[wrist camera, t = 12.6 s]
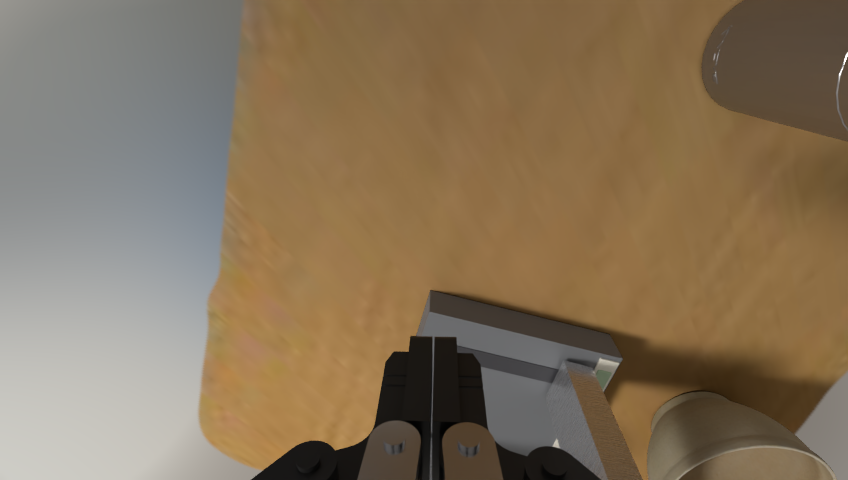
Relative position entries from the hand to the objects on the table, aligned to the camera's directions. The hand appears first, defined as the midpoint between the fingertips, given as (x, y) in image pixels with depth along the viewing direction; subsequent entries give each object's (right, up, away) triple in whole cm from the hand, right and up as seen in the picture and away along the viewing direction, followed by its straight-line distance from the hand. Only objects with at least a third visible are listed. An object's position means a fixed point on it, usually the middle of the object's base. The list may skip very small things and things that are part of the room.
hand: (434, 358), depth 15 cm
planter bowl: (+31, -17, +39) cm, 53 cm away
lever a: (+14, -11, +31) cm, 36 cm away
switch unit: (+7, -14, +38) cm, 41 cm away
